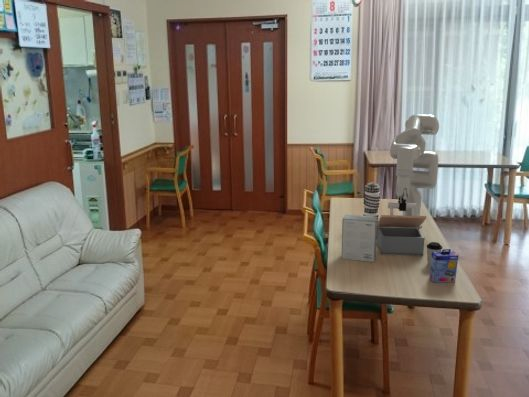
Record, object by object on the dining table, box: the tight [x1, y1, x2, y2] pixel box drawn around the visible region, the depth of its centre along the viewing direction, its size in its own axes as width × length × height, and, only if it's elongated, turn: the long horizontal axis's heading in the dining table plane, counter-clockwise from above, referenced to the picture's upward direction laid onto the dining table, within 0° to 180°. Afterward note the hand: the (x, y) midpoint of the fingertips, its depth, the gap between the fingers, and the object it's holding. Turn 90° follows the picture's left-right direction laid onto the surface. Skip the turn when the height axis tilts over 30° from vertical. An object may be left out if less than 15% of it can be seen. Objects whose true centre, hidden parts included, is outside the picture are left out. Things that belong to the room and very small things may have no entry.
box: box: [376, 227, 425, 257], centre depth 250 cm, size 15×20×9 cm
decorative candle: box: [362, 182, 381, 223], centre depth 283 cm, size 9×9×25 cm
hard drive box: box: [341, 214, 377, 263], centre depth 238 cm, size 16×8×20 cm, turn 71°
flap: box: [377, 202, 427, 229], centre depth 250 cm, size 16×21×8 cm
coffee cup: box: [426, 241, 443, 267], centre depth 231 cm, size 7×7×10 cm
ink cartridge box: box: [429, 248, 459, 283], centre depth 214 cm, size 10×6×14 cm, turn 95°
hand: (401, 209), depth 247 cm, fingers closed on flap, 2 cm apart
